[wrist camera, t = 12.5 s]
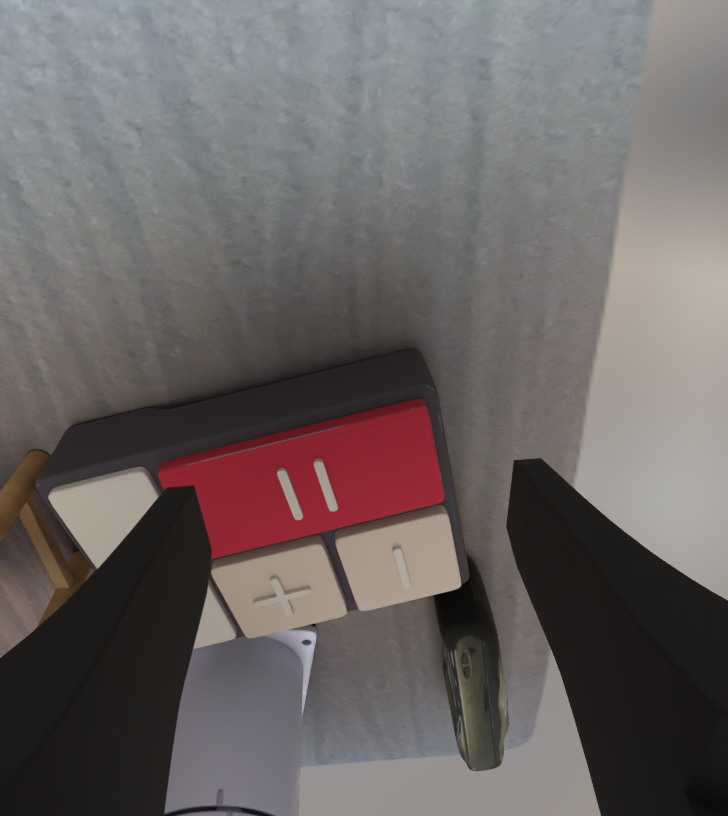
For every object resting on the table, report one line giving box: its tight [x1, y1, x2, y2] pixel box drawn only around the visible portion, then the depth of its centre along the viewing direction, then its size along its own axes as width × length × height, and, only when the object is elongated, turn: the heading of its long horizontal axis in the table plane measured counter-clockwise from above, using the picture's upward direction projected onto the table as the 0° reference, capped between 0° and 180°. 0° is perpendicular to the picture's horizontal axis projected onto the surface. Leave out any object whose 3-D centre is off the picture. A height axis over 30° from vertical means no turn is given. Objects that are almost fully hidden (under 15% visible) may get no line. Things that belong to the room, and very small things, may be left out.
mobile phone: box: [433, 561, 509, 771], centre depth 31 cm, size 5×3×15 cm
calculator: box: [35, 349, 469, 649], centre depth 24 cm, size 11×4×15 cm
